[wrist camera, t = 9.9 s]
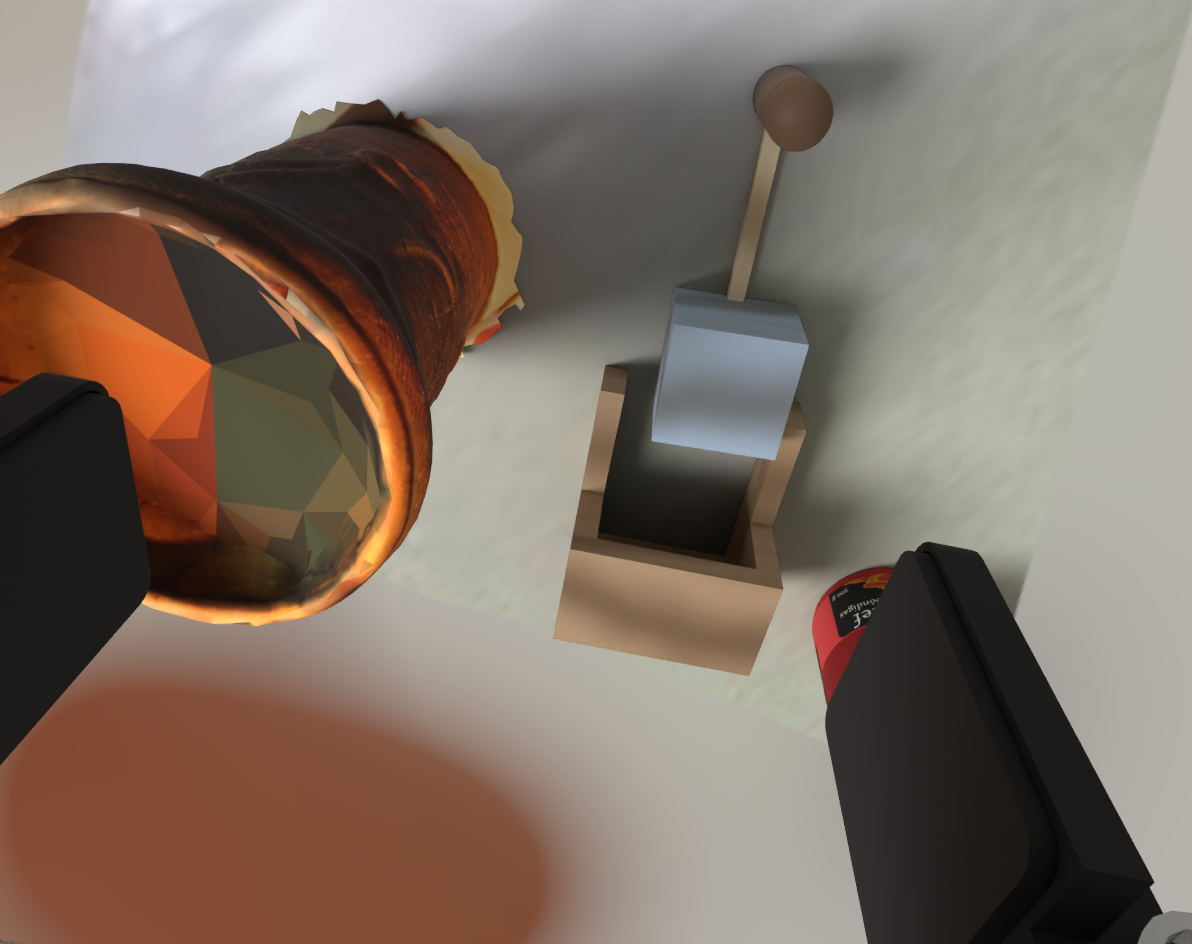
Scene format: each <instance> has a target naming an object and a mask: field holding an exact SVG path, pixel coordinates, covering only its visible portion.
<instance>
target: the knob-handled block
mask: <svg viewBox="0 0 1192 944" xmlns="http://www.w3.org/2000/svg"><path fill="white" fill-rule="evenodd" d="M753 106H754V110H755V112H756V114H757V116H758V118H759V119H760V121H761V123H762V124H763V126H764V132H763V136H762V141H761V145H760V150H759V154H758V159H757V163H756V167H755V172H754V176H753V181H752V185H751V189H750V194H749V198H748V203H747V207H746V212H745V216H744V220H743V225H742V229H741V234H740V238H739V242H738V247H737V251H736V256H735V260H734V265H733V269H732V273H731V278H730V282H729V287H728V291H727V295H725V294H718V293H712V292H705V291H699V290H692V289H686V288H679V287H674V292H673V297H672V303H671V308H670V313H669V319H668V324H667V329H666V335H665V340H664V345H663V351H662V356H661V361H660V367H659V372H658V377H657V382H656V388H655V393H654V407H653V424H652V441H654V442H661V443H667V444H673V445H680V446H686V447H693V448H699V449H706V450H712V451H718V452H725V453H731V454H738V455H744V456H750V457H757V458H763V459H770V460H775V459H776V456H777V452H778V449H779V446H780V442H781V439H782V435H783V432H784V429H785V425H786V422H787V419H788V415H789V412H790V409H791V405H792V402H793V398H794V395H795V392H796V388H797V385H798V382H799V378H800V375H801V371H802V368H803V365H804V361H805V358H806V355H807V351H808V348H809V343H808V340H807V337H806V335H805V332H804V329H803V326H802V324H801V321H800V318H799V315H798V313H797V310H796V307H795V305H789V304H783V303H776V302H770V301H764V300H757V299H751V298H745V295H746V291H747V286H748V282H749V278H750V274H751V270H752V266H753V261H754V257H755V253H756V249H757V245H758V241H759V236H760V232H761V228H762V224H763V220H764V216H765V211H766V207H767V203H768V199H769V195H770V191H771V186H772V182H773V178H774V174H775V170H776V166H777V161H778V157H779V153H780V149H781V148H782V149H785V150H787V151H794V152H796V151H804V150H807V149H809V148H811V147H813V146H815V145H816V144H817V143H819V142H820V141H821V140H822V139H823V137H824V136H825V135H826V133H827V132H828V130H829V128H830V125H831V122H832V118H833V105H832V101H831V98H830V96H829V94H828V93H827V91H826V90H825V89H824V88H823V87H822V86H821V85H819V84H818V83H816V82H815V81H814V80H812V79H811V78H809V77H808V76H807V75H805V74H804V73H802V72H801V71H800V70H798V69H797V68H795V67H792V66H788V65H781V66H776V67H774V68H772V69H770V70H768V71H767V72H765V73H764V74H763V75H762V76H761V78H760V79H759V80H758V82H757V84H756V86H755V89H754V92H753Z"/></svg>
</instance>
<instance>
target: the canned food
mask: <svg viewBox="0 0 1192 944" xmlns="http://www.w3.org/2000/svg"><path fill="white" fill-rule="evenodd" d="M892 571H893V569H889V568H877V569H869V570H864V571H860V572H857V573H854V574H852V575H849V576H847V577H845V578H843V579H842V580H840V581H838V582H837V583H836V584H834V585H833V586H832V587H831V588H829V589H828V590H827V592H826V593H825V594H824V595H823V596H822V598H821V599H820V601H819V603H818V605H817V607H816V611H815V614H814V619H813V625H812V634H813V639H814V644H815V648H816V653H817V658H818V663H819V668H820V673H821V678H822V683H823V688H824V693H825V698H826V703H827V707H828V704H829V701H830V699H831V697H832V694H833V692H834V690H835V688H836V686H837V684H838V682H839V680H840V678H841V676H842V674H843V672H844V670H845V668H846V666H847V664H848V662H849V660H850V658H851V655H852V653H853V651H854V649H855V647H856V645H857V643H858V641H859V639H860V637H861V635H862V633H863V631H864V629H865V627H866V625H867V623H868V621H869V619H870V616H871V614H872V612H873V610H874V608H875V606H876V604H877V602H878V600H879V598H880V596H881V594H882V592H883V590H884V588H885V586H886V584H887V582H888V580H889V577H890V575H891V573H892Z"/></svg>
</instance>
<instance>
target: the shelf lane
mask: <svg viewBox="0 0 1192 944" xmlns="http://www.w3.org/2000/svg"><path fill="white" fill-rule="evenodd" d="M627 374H628V370H627V369H622V368H616V367H611V366H605V371H604V376H603V382H602V387H601V392H600V397H599V402H598V407H597V413H596V418H595V423H594V428H593V433H592V438H591V444H590V449H589V454H588V459H587V464H586V469H585V475H584V480H583V485H582V490H581V495H580V500H579V506H578V511H577V516H576V521H575V526H574V531H573V537H572V542H571V547H570V552H569V557H568V563H567V568H566V573H565V578H564V584H563V589H562V594H561V599H560V604H559V610H558V615H557V620H556V625H555V631H554V636H553V639H556V640H562V641H567V642H572V643H577V644H584V645H588V646H593V647H599V648H604V649H609V650H614V651H620V652H625V653H630V654H636V655H641V656H646V657H651V658H657V659H662V660H667V661H672V662H678V663H683V664H688V665H694V666H699V667H704V668H709V669H715V670H720V671H725V672H730V673H736V674H741V675H746V676H749V675H750V672H751V670H752V667H753V665H754V662H755V660H756V657H757V655H758V652H759V650H760V647H761V645H762V642H763V640H764V637H765V635H766V632H767V629H768V627H769V624H770V622H771V619H772V617H773V614H774V612H775V609H776V607H777V604H778V602H779V599H780V597H781V594H782V592H783V586H782V580H781V575H780V569H779V563H778V557H777V552H776V546H775V540H774V534H773V529H772V525H773V523H774V520H775V517H776V514H777V512H778V509H779V506H780V503H781V501H782V498H783V495H784V492H785V490H786V487H787V484H788V481H789V479H790V476H791V473H792V470H793V468H794V465H795V462H796V459H797V457H798V454H799V451H800V448H801V446H802V443H803V440H804V437H805V435H806V432H807V429H806V425H805V422H804V418H803V415H802V411H801V408H800V404H799V403H796V402H792V405H791V409H790V412H789V415H788V419H787V422H786V425H785V429H784V432H783V435H782V439H781V442H780V446H779V449H778V452H777V456H776V459H775V460H770V459H763V458H757V460H756V463H755V466H754V469H753V472H752V475H751V478H750V481H749V484H748V487H747V490H746V493H745V496H744V499H743V502H742V505H741V508H740V511H739V514H738V517H737V520H736V523H735V526H734V529H733V532H732V535H731V538H730V542H729V545H728V548H727V551H726V554H725V557H724V556H719V555H713V554H708V553H703V552H698V551H693V550H687V549H682V548H677V547H672V546H666V545H661V544H656V543H651V542H646V541H640V540H635V539H630V538H625V537H620V536H614V535H609V534H604V533H599V532H598V529H599V523H600V516H601V509H602V502H603V495H604V490H605V485H606V481H607V476H608V471H609V467H610V462H611V457H612V453H613V448H614V443H615V438H616V434H617V429H618V424H619V420H620V415H621V410H622V406H623V401H624V396H625V389H626V382H627Z"/></svg>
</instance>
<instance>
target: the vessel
mask: <svg viewBox="0 0 1192 944" xmlns="http://www.w3.org/2000/svg"><path fill="white" fill-rule="evenodd" d="M513 213H514V205H513V199H512V193H511V191H510V189H509V188H508V186H507V185H506V184H505V183H504V182H503V179H502V176H501V174H500V171H499V169H498V168H497V167H495V166H493V165H491V164H489V163H487V162H485V161H484V160H483V159H482V158H481V156H480V155H479V153H478V152H477V151H476V149H475V148H474V147H473V146H472V145H471V144H470V143H469V142H468V141H466V140H464V139H462V138H460V137H458V136H457V135H456V134H455V133H454V132H453V131H452V130H450V129H448V128H447V127H443V128H439V129H438V128H436V127H435V126H434V125H433V124H431V123H430V122H428V121H427V120H425V119H423V118H419V119H413V120H406V119H405V117H404V115H403V113H402V111H401V112H400V113H399V115H398V116H397V117H396V118H395V120H394V118H393V117H392V116H391V114H390V113H389V111H388V110H387V108H386V107H385V106H384V105H383V104H382V103H381V102H380V101H379V100H378V99H377V100H375V101H372V102H370V103H368V104H365V105H360V104H347V103H341V102H336V106H335V111H334V112H331V111H328V110H325V109H319V110H317V111H315V112H313V113H312V114H310V115H307V114H306V113H304V112H303V111H301V112H300V114H299V116H298V118H297V120H296V123H295V126H294V129H293V132H292V135H291V137H290V138H289V139H287V140H286V141H285V142H284V143H282V144H280V145H278V146H275V147H273V148H270V149H269V150H264V151H260V152H256V153H254V154H252V155H250V156H248V157H246V158H244V159H241V160H239V161H237V162H235V163H233V164H231V165H226V166H222V167H218V168H215V169H212V170H210V171H207V172H205V173H204V174H203V175H201V176H200V177H198V176H194V175H190V174H185V173H181V172H177V171H173V170H168V169H164V168H156V167H149V166H143V165H138V164H126V163H96V164H83V165H77V166H73V167H69V168H65V169H62V170H58V171H55V172H51V173H49V174H46V175H43V176H41V177H38V178H35V179H32V180H30V181H27V182H25V183H23V184H21V185H19V186H16V187H14V188H12V189H10V190H8V191H7V192H5V193H3V194H1V195H0V396H2V395H3V394H5V393H7V392H8V391H10V390H12V389H13V388H15V387H17V386H18V385H20V384H22V383H23V382H25V381H27V380H28V379H30V378H32V377H33V376H35V375H38V374H40V373H43V372H46V373H55V374H60V375H65V376H71V377H76V378H81V379H86V380H91V381H97V382H98V383H100V384H102V385H103V386H104V387H105V388H106V390H107V391H108V393H109V396H110V397H113V398H114V399H116V400H117V401H118V402H119V404H120V406H121V409H122V413H123V419H124V425H125V430H126V436H127V441H128V447H129V452H130V458H131V463H132V469H133V475H134V480H135V486H136V491H137V497H138V502H139V508H140V514H141V519H142V525H143V530H144V536H145V541H146V547H147V553H148V558H149V564H150V569H151V582H150V586H149V590H148V592H147V594H146V596H145V598H144V600H143V601H142V603H143V604H145V605H147V606H149V607H150V608H153V609H157V610H161V611H164V612H168V613H171V614H175V615H179V616H182V617H186V618H190V619H193V620H198V621H203V622H208V623H212V624H241V625H250V626H259V625H264V624H269V623H273V622H280V621H289V620H295V619H299V618H304V617H308V616H311V615H313V614H316V613H318V612H321V611H324V610H327V609H328V608H330V607H332V606H334V605H335V604H337V603H339V602H340V601H342V600H343V599H345V598H346V597H348V596H349V595H351V594H352V593H353V592H354V591H356V590H357V589H358V588H359V587H360V586H362V585H363V584H364V583H365V582H366V581H367V580H368V579H369V578H370V577H371V576H372V575H373V574H374V573H375V572H376V571H377V570H378V569H379V568H380V567H381V566H382V565H383V564H384V562H386V561H387V560H388V559H389V557H390V556H391V555H392V554H393V553H394V552H395V551H396V550H397V549H398V548H399V546H400V545H401V544H402V542H403V541H404V539H405V538H406V536H407V534H408V532H409V531H410V529H411V528H412V526H413V524H414V523H415V521H416V520H417V518H418V515H419V512H420V509H421V506H422V503H423V500H424V497H425V494H426V490H427V486H428V483H429V478H430V472H431V465H432V446H433V440H432V423H431V413H430V407H431V405H432V403H433V402H434V401H435V400H436V399H437V397H438V396H439V394H440V392H441V390H442V388H443V386H444V384H445V382H446V379H447V376H448V374H449V373H450V372H451V371H452V370H453V368H454V366H455V365H456V363H457V361H458V360H459V358H464V355H463V352H462V350H463V348H464V346H467V345H472V344H482V343H484V342H485V341H486V340H487V339H489V338H490V337H491V336H492V335H493V334H494V333H496V332H497V331H498V330H499V329H500V328H502V327H501V324H500V322H499V320H498V317H499V316H500V315H501V314H502V313H503V312H504V311H505V310H506V309H507V308H509V307H511V306H513V305H515V304H516V305H517V307H518V308H519V309H520V311H521V310H522V308H523V307H524V303H523V300H522V298H521V296H520V293H519V291H518V289H517V286H516V284H515V282H514V278H515V275H516V271H517V267H518V264H519V259H520V255H521V250H522V242H523V237H522V236H521V235H520V233H519V232H518V231H517V229H516V228H515V226H514V225H513V224H512V222H511V220H512V216H513Z"/></svg>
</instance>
